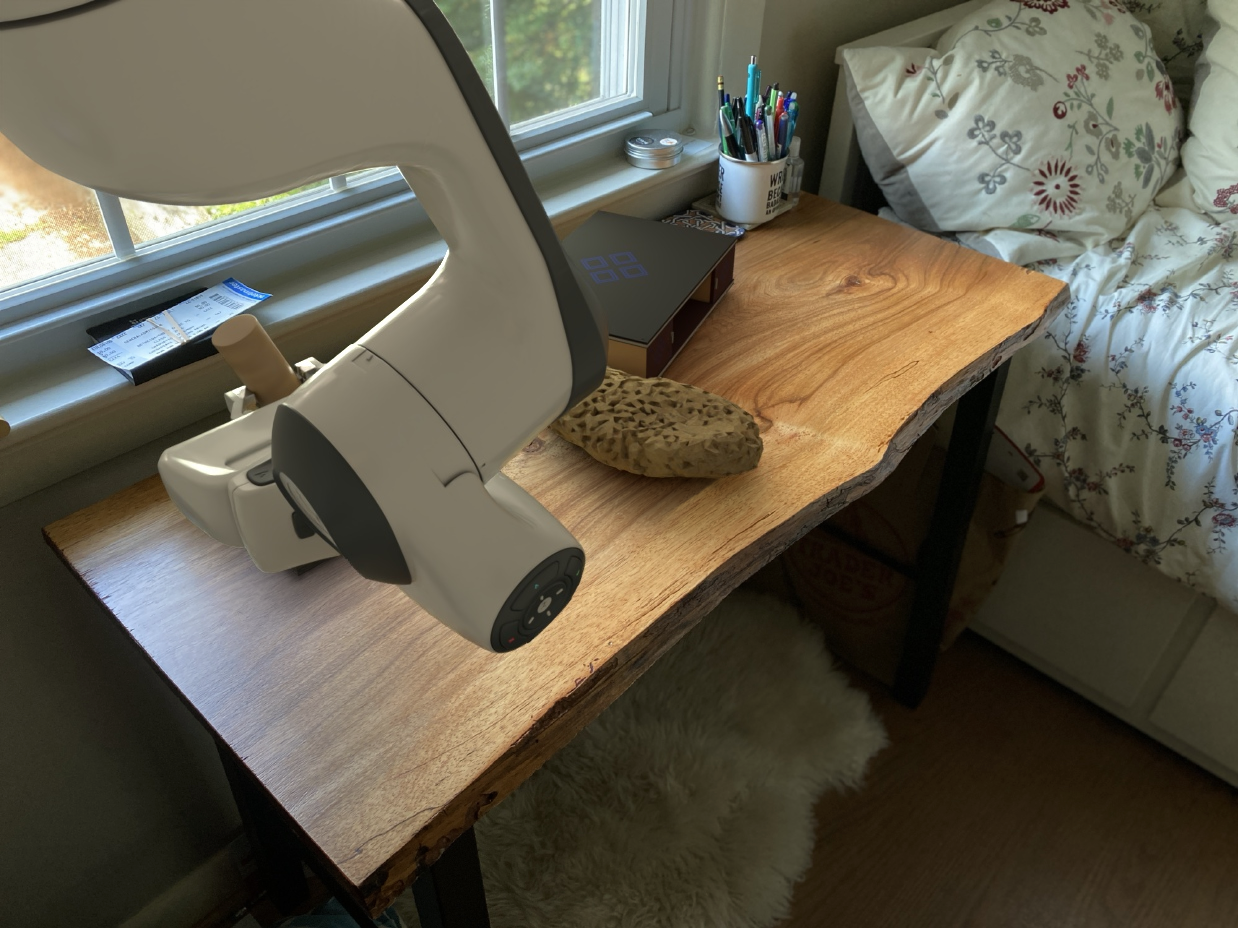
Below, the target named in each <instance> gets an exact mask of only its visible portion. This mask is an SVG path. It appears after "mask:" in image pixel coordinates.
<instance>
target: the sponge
mask: <svg viewBox="0 0 1238 928" xmlns="http://www.w3.org/2000/svg"><path fill="white" fill-rule="evenodd" d="M546 428H548V429H550V428H551V432H552V433H553V434H555V435H557V436H559V437H560V438H562V439H564V440H565V441H567V442H570V443H571V444H574V445H576V446H578V447H580V448H582V449H583V450H584V451H585V452H586V453H588V454H589V455H590V456H591V457H592V458H593V459H595V460H596V461H597V462H600V463H602V464H604V465H606V466H608V467H613V468H616V469H617V470H619V471H627V472H628V473H630V474H634V475H644V476H645V477H649V478H660V479H661V478H662V479H664V478H677V477H684V478H705V479H715V480H717V479H723V478H726V477H733V476H739V475H742V474H743V473H749V472H751V471H753V470H756V469H757V468H758V465H759V463H760V460H761V458H762V455H763V453H764V442H763V441H764V440H763V438H762V437H761V436H760V426H759V425H758V423H756V422H755V417H754V415H753V414H751V413H749V412H748V411H746V410H745V409H744V408H742V407H741V406H739V404H737V403H735V402H733V401H732V400H731V399H728V398H725V397H723V396H720V395H717V394H715V393H713V392H709V391H707V390H704V389H702V388H700V387H698V386H695V385H693V384H689V383H684V382H683V383H682V382H677V381H675V380H673V379H671V378H666V377H662V376H661V377H654V378H649V379H644V378H641V377H638V376H635V375H630V374H627V373H625V372H623V371H621V370H615V369H612V368H610V367H609V366H607V368H606V374H605V378H604V381H603V383H602V384H601V386H600V387H599V388H598V389H597V390H595V391H594V392H593V393H591V394H590V395H589V396H588V397H586V398H585V399H584V400H582V401H581V402H580V403H579V404H577V405H576V406H575V407H574V408H572V409H571V410H570V411H568V412H567V413H566V414H565V415H563V416H562V417H561V418H560V419H558V420H556V421H555V422H553V423H551V424H550V425H548V426H547V427H546Z"/></svg>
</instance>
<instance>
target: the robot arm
mask: <svg viewBox="0 0 1238 928" xmlns="http://www.w3.org/2000/svg"><path fill="white" fill-rule="evenodd" d="M0 133H1V134H2V135H3V136H4V137H5V138H6V139H7V140H8V141H10V143H12V144H13V145H14V146H15V147H16V148H17V149H18V150H19V151H20V152H22V153H23V155H25V156H26V157H27V158H29V159H30V160H31V161H33V162H35V163H36V164H37V165H39V166H40V167H42V168H44V169H46V170H47V171H49V172H51V173H53V174H55V175H57V176H60V177H62V178H64V179H66V180H68V181H70V182H73V183H76V184H77V185H79V186H82V187H85V188H88V189H91V190H93V191H97V192H100V193H103V194H106V195H109V196H113V197H116V198H120V199H126V200H130V201H136V202H142V203H148V204H156V205H162V206H176V207H214V206H215V207H217V206H228V205H238V204H244V203H251V202H256V201H261V200H262V201H263V200H266V199H270V198H273V197H276V196H279V195H283V194H286V193H288V192H289V193H290V192H291V191H294V190H297V189H301V188H303V187H305V186H309V185H312V184H315V183H319V182H322V181H324V180H328V179H332V178H336V177H340V176H344V175H347V174H352V173H356V172H361V171H367V170H373V169H380V168H387V167H396V168H397V169H398V171H399V173H400V174H401V176H402V177H403V180H404V181H405V182H406V183H407V185H408V187H409V188H410V190H411V191H412V193H413V194H414V196H415V198H416V199H417V201H418V202H419V204H420V205H421V207H422V208H423V210H424V211H425V213H426V214H427V216H428V218H429V219H430V221H431V222H432V223H433V225H434V227H435V228H436V230H437V231H438V233H439V234H440V236H441V238H442V239H443V240H444V243H445V244H446V245H447V251H446V253H445V256H444V258H443V260H442V262H441V264H440V265H439V267H438V268H437V269H436V271H435V272H434V274H433V275H432V276H431V278H430V279H429V280H428V281H427V282H426V283H425V284H424V285H423V286H422V287H421V288H420V289H419V290H418V291H417V292H416V293H414V294H413V295H411V297H410V298H409V297H408V299H407V300H406V301H405V302H403V303H402V304H401V305H400V306H398V307H397V308H396V309H395V310H394V311H392V312H391V313H390V314H388V315H387V316H386V317H385V318H383V320H381V321H380V322H379V323H378V324H376V325H375V326H374V327H373V328H371V329H370V330H369V331H368V332H367V333H365V334H364V335H363V336H361V337H360V338H359V339H358V340H357V341H355V342H353V344H351V343H350V345H349V346H347V347H346V348H345V349H344V350H342V351H341V352H339V353H338V354H337V355H336V356H335V357H334V358H332V359H331V360H330V361H329V362H327V363H321V362H320V361H318V360H317V359H316V358H315V357H313V356H311V357H308V358H306V359H304V360H302V361H299V362H297V363H295V364H293V365H292V367H293V368H292V369H293V371H294V373H295V374H296V375H297V377H298V378H299V380H300V381H301V383H302V385H301V386H300V387H298V388H297V389H296V390H295V391H294V392H293V393H292V394H291V395H289V396H287V397H285V398H282V399H280V400H278V401H276V402H273V403H271V404H269V405H266V406H264V407H260V408H259V405H257V403H258V402H257V400H256V397H255V394H254V393H253V392H252V391H250V390H248V389H247V388H246V386H245V385H242V386H240V387H237V388H235V389H232V390H229V391H228V392H224V394H223V398H224V400H225V404H226V407H227V410H228V411H229V413H230V420H229V421H227V422H226V423H224V424H221V425H218V426H215V427H214V428H211V429H209V430H207V431H205V432H202V433H201V434H198V435H196V436H193V437H191V438H189V439H187V440H185V441H182V442H180V443H177V444H175V445H172V446H171V447H168V448H166V449H164V451H163V452H162V454H161V455H160V457H159V460H158V462H157V471H158V474H159V476H160V479H161V481H162V484H163V487H164V488H165V490H166V493H167V495H168V497H169V499H170V500H171V502H172V504H173V506H175V508H176V509H177V510H178V511H179V512H180V513H181V514H182V515H183V516H184V517H185V518H186V519H187V520H189V521H190V522H191V523H192V524H193V525H195V526H196V527H197V528H198V529H199V530H200V531H202V532H203V533H205V534H206V535H207V536H209V537H210V538H212V539H213V540H214V541H216V542H218V543H220V544H222V545H225V546H228V547H232V548H239V549H240V548H241V549H242V548H243V549H244V548H245V550H246V551H247V553H248V555H249V557H250V559H251V560H252V562H253V564H254V565H255V567H256V568H258V570H260V571H261V572H262V573H264V574H265V573H266V574H274V573H275V574H276V573H281V572H282V571H286V570H290V569H291V568H293V567H296V566H299V565H303V564H306V563H310V562H313V561H317V560H321V559H325V558H329V557H331V558H335V557H339V556H341V557H342V558H344V559H345V560H346V561H347V562H348V563H349V564H350V566H351V567H352V568H353V569H354V570H355V571H356V572H357V573H358V574H359V576H361V577H363V579H365V580H368V581H373V582H378V583H383V584H387V585H394V586H395V587H397V589H399V590H400V591H401V592H402V593H403V594H404V595H405V596H407V598H408V599H409V600H411V601H412V602H414V603H415V604H416V605H417V606H418V607H420V608H421V609H422V610H423V611H425V612H426V613H427V614H428V615H430V616H431V617H433V618H434V620H437V621H438V622H439V623H441V625H443V626H445V627H446V628H448V629H449V630H451V631H453V632H454V633H455V634H458V635H459V636H460V637H462V638H463V639H464V640H466V641H467V642H468V641H469V642H470V643H472V644H473V645H475V646H477V647H479V648H480V649H483V650H484V651H487V652H489V653H491V654H496V655H497V654H500V655H501V654H506V653H510V652H513V651H516V650H518V649H519V648H521V647H523V646H525V645H527V644H530V643H531V642H532V641H533V640H535V638H537V637H539V635H540V634H542V632H544V630H545V629H546V628H547V627H548V626H550V625H551V624H552V623H553V621H554V620H555V619H556V618H557V617H558V616H559V615H560V614H561V613H562V612H563V610H564V609H565V608H566V607H567V606H568V605H569V603H570V602H571V601H572V599H573V596H574V595H575V593H576V591H577V590H578V587H579V586H580V584H581V581H582V578H583V576H584V575H583V574H584V571H585V568H586V567H585V566H586V560H587V559H586V558H587V557H586V552H585V549H584V547H583V546H582V544H581V543H580V541H579V540H578V538H576V537H575V535H574V534H573V533H572V532H571V531H570V530H569V529H568V528H567V527H566V526H565V525H564V524H563V523H562V522H561V521H560V520H559V519H558V518H557V517H556V516H555V515H554V514H553V513H552V512H551V511H549V509H547V507H546V506H544V504H542V503H541V502H540V501H539V500H538V499H537V498H536V497H534V496H533V495H532V494H531V493H529V491H527V490H526V489H525V488H524V487H523V486H521V485H520V484H519V483H517V482H516V481H515V480H514V479H512V478H511V477H509V475H507V474H506V473H504V472H503V471H502V469H504V467H506V466H507V465H508V464H509V463H510V462H511V461H512V460H513V459H514V458H515V457H516V456H517V455H518V454H520V453H521V452H522V451H523V450H524V449H525V448H526V447H527V446H529V444H530V443H531V442H532V441H533V440H535V439H536V438H537V437H538V436H539V435H540V434H541V433H542V432H543V431H544V430H545V429H546V428H548V427H547V426H548V425H550V424H551V423H553V422H555V421H556V420H558V419H560V418H561V417H562V416H563V415H565V414H566V413H567V412H568V411H570V410H571V409H572V408H574V407H575V406H576V405H577V404H579V403H580V402H581V401H582V400H584V399H585V398H586V397H588V396H589V395H590V394H591V393H593V392H594V391H595V390H597V389H598V388H599V387H600V386H601V384H602V383H603V381H604V378H605V374H606V368H607V361H608V350H609V333H608V323H607V318H606V315H605V312H604V310H603V308H602V306H601V304H600V302H599V300H598V298H597V297H596V295H595V293H594V292H593V290H592V289H591V287H590V286H589V284H588V283H587V281H586V280H585V278H584V277H583V275H582V274H581V272H580V271H579V269H578V268H577V267H576V265H575V264H574V262H573V261H572V259H571V258H570V256H569V255H568V254H567V252H566V251H565V249H564V247H563V246H562V244H561V240H560V238H559V235H558V234H557V232H556V230H555V227H554V226H553V223H552V221H551V220H550V217H549V215H548V213H547V211H546V209H545V207H544V205H543V203H542V201H541V198H540V196H539V194H538V192H537V190H536V189H535V186H534V183H533V182H532V180H531V179H532V178H531V177H530V175H529V173H528V170H527V169H526V167H525V164H524V162H523V160H522V158H521V156H520V154H519V152H518V150H517V148H516V146H515V143H514V141H513V139H512V136H511V135H510V133H509V131H508V128H507V126H506V125H505V122H504V120H503V118H502V115H501V113H500V112H499V110H498V108H497V106H496V104H495V101H494V99H493V98H492V96H491V94H490V92H489V90H488V88H487V86H486V84H485V82H484V80H483V79H482V76H481V75H480V72H479V70H478V69H477V67H476V65H475V63H474V62H473V60H472V58H471V56H470V55H469V52H468V51H467V49H466V47H465V46H464V44H463V42H462V40H461V39H460V37H459V35H458V33H457V31H455V29H454V27H453V26H452V24H451V23H450V21H449V19H448V18H447V17H446V15H445V14H444V12H443V10H442V9H441V8H440V6H438V4H437V3H436V2H435V0H0ZM329 559H330V558H329Z"/></svg>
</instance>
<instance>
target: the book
mask: <svg viewBox="0 0 1238 928" xmlns="http://www.w3.org/2000/svg"><path fill="white" fill-rule="evenodd" d="M560 242H561V244H562V246H563V247H564V249H565V251H566V252H567V254H568V255H569V256H570V258H571V259H572V261H573V262H574V264H575V265H576V267H577V268H578V269H579V271H580V272H581V274H582V275H583V277H584V278H585V280H586V281H587V283H588V284H589V286H590V287H591V289H592V290H593V292H594V293H595V295H596V297H597V298H598V300H599V302H600V304H601V306H602V308H603V310H604V312H605V315H606V318H607V323H608V333H609V350H608V361H607V366H609V367H610V368H612V369H615V370H621V371H623V372H625V373H627V374H630V375H635V376H638V377H641V378H644V379H649V378H654V377H662V376H663V375H664V374H665V372H666V371H667V369H668V368H669V367H670V366H671V365H672V363H673V362H674V361H675V360H676V358H677V357H678V355H679V354H680V353H681V352H682V350H683V349H684V348H685V347H686V346H687V344H688V343H689V341H690V340H692V338H693V336H694V335H695V334H696V333H697V331H698V330H699V329H700V327H701V326H702V325H703V324H704V323H705V321H706V320H707V319H708V317H709V316H710V315H711V313H712V312H713V311H714V309H715V308H716V307H717V306H718V304H720V303H721V301H722V300H723V298H724V297H725V295H726V294H727V293H728V292H729V290H730V289H731V288H732V287H733V286H734V284H735V278H734V272H735V271H734V269H735V257H736V245H737V243H738V236H737V235H732V234H727V233H720V232H717V231H716V232H715V231H710V230H705V229H699V228H695V227H689V226H685V225H684V226H683V225H680V224H673V223H668V222H664V221H658V220H653V219H647V218H643V217H638V216H632V215H627V214H621V213H615V212H611V211H605V210H600V209H598V210H597V211H596V212H594V213H593V214H592V215H591V216H590V217H588V218H587V219H586V220H585V221H584V222H582V223H581V224H580V225H579V226H578V227H576V228H575V229H574V230H573V231H572V232H570V233H569V235H567V236H566V237H565V238H564V239H562V240H560Z"/></svg>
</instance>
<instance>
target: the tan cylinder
mask: <svg viewBox="0 0 1238 928" xmlns="http://www.w3.org/2000/svg"><path fill="white" fill-rule="evenodd" d="M211 343H212V345H213V346H214V348H215V349H216V350H217V351H218V353H219V354H220V355H221V357H222V358H223V359H224V360H225V362H226V364H228V365H229V367H230V368H231V369H232V371H233V372H234V373H235V375H236V376H237V377H238V379H239V380H240V381H241V383H242V384H243V386H246V388H247V389H248V390H250V391H252V392H253V393H254V394H255V397H256V400H257V403H258V404H259V406H260V408H262V407H264V406H266V405H269V404H271V403H273V402H276V401H278V400H280V399H282V398H285V397H287V396H289V395H291V394H292V393H293V392H294V391H295V390H296V389H297V388H298V387H300V386H301V385H302V383H301V381H300V380H299V378H298V377H297V375H296V372H295V371H294V369H293V368H292V366H291V365H290V364H289V363H288V361H287V360H286V358H285V357H284V355H283V354H282V352H281V351H280V350H279V348H278V347H277V345H276V344H275V343H274V342H273V340H272V338H271V337H270V336H269V335H268V333H267V331H266V330H265V329H264V327H263V326H262V324H261V323H260V322H259V320H258V319H257V317H256V316H254V315H252V314H251V313H250V314H249V313H244V314H243V313H242V314H239V315H236V316H233V317H230V318H229V319H227V320H225V321H224V322H222V324H220V325H219V326H217V328H216V329H215V331H214V332H213V334H212V336H211Z"/></svg>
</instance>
